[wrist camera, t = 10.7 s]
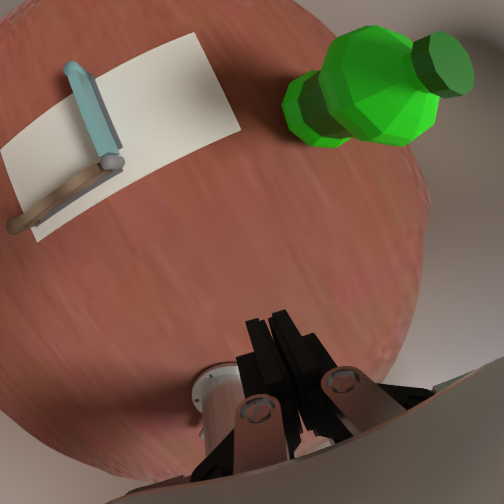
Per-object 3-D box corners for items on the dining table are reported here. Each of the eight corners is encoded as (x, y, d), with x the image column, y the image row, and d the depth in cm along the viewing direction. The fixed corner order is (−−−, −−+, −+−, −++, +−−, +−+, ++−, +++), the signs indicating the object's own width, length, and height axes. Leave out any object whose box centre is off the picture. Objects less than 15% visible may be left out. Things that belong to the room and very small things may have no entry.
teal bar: (127, 164, 33) (117, 164, 28) (115, 171, 33) (103, 172, 28) (87, 69, 28) (74, 58, 24) (76, 76, 28) (61, 66, 24)
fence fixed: (33, 227, 33) (10, 238, 27) (27, 215, 32) (4, 223, 26) (114, 174, 33) (99, 175, 27) (108, 160, 32) (92, 159, 27)
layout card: (38, 241, 34) (36, 242, 33) (-1, 144, 29) (-3, 144, 28) (240, 130, 35) (241, 129, 34) (191, 27, 30) (191, 26, 29)
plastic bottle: (354, 96, 36) (499, 52, 12) (332, 164, 38) (487, 173, 14) (288, 65, 33) (398, -36, 9) (262, 136, 35) (370, 86, 12)
